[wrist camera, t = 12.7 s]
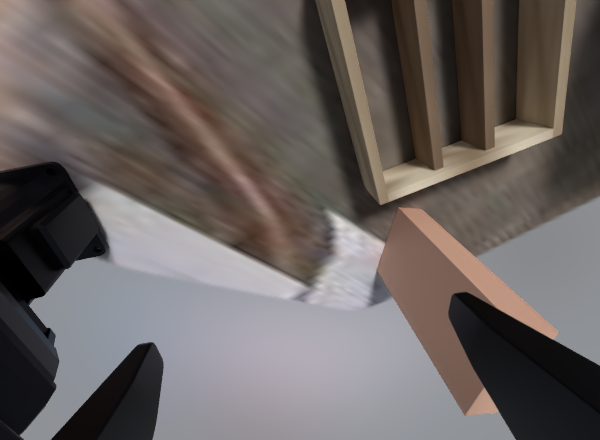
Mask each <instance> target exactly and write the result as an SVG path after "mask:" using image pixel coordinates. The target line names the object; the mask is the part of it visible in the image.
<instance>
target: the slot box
mask: <svg viewBox="0 0 600 440" xmlns="http://www.w3.org/2000/svg"><path fill="white" fill-rule="evenodd" d="M315 2H316V5H317V9H318V13H319V17H320V21H321V24H322V28H323V32H324V36H325V40H326V43H327V47H328V51H329V55H330V59H331V63H332V66H333V70H334V74H335V78H336V82H337V85H338V89H339V93H340V97H341V101H342V104H343V108H344V112H345V116H346V120H347V123H348V127H349V131H350V135H351V139H352V142H353V146H354V150H355V154H356V158H357V162H358V165H359V169H360V173H361V177H362V181H363V184H364V187H365V188H366V190H367V191H368V192H369V193H370V194H371V195H372V196H373V197H374V199H375V200H376V201H377V202H378V203H379V204H380V205H382V204H385V203H387V202H390V201H393V200H395V199H398V198H400V197H403V196H405V195H408V194H410V193H413V192H416V191H418V190H421V189H423V188H426V187H428V186H431V185H433V184H436V183H439V182H441V181H444V180H446V179H449V178H451V177H454V176H456V175H459V174H462V173H464V172H467V171H469V170H472V169H474V168H477V167H479V166H482V165H485V164H487V163H490V162H492V161H495V160H497V159H500V158H502V157H505V156H508V155H510V154H513V153H515V152H518V151H520V150H523V149H525V148H528V147H531V146H533V145H536V144H538V143H541V142H543V141H546V140H548V139H551V138H554V137H556V136H559V135H561V134H562V128H563V119H564V109H565V100H566V91H567V82H568V73H569V64H570V55H571V45H572V36H573V27H574V18H575V9H576V0H519V21H518V57H517V93H516V119H515V120H512V121H509V122H507V123H504V124H502V125H499V126H497V127H495V112H494V0H452V10H453V25H454V40H455V54H456V69H457V84H458V98H459V113H460V128H461V141H459V142H456V143H454V144H451V145H449V146H446V147H444V148H442V146H441V136H440V127H439V117H438V108H437V98H436V89H435V79H434V69H433V60H432V50H431V41H430V31H429V21H428V12H427V2H426V0H391V3H392V9H393V16H394V22H395V29H396V35H397V42H398V48H399V55H400V61H401V67H402V74H403V80H404V87H405V93H406V100H407V106H408V113H409V119H410V126H411V132H412V139H413V145H414V152H415V158H416V159H413V160H411V161H408V162H406V163H403V164H401V165H398V166H395V167H393V168H390V169H388V170H385V171H382V167H381V162H380V158H379V153H378V148H377V144H376V139H375V135H374V130H373V126H372V121H371V117H370V112H369V108H368V103H367V98H366V94H365V89H364V85H363V80H362V76H361V71H360V67H359V62H358V58H357V53H356V49H355V44H354V39H353V35H352V30H351V26H350V21H349V17H348V12H347V8H346V3H345V0H315Z"/></svg>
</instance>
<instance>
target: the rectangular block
mask: <svg viewBox="0 0 600 440" xmlns="http://www.w3.org/2000/svg"><path fill="white" fill-rule="evenodd" d="M377 271H378V273H379V275H380V276H381V278H382V280H383V281H384V283H385V285H386V286H387V288H388V290H389V291H390V293H391V295H392V296H393V298H394V300H395V301H396V303H397V304H398V306H399V308H400V309H401V311H402V313H403V314H404V316H405V318H406V319H407V321H408V323H409V324H410V326H411V327H412V329H413V331H414V332H415V334H416V336H417V338H418V339H419V341H420V342H421V344H422V346H423V347H424V349H425V351H426V352H427V354H428V356H429V357H430V359H431V361H432V362H433V364H434V366H435V367H436V369H437V370H438V372H439V374H440V375H441V377H442V379H443V380H444V382H445V383H446V385H447V387H448V389H449V390H450V392H451V394H452V395H453V397H454V399H455V400H456V402H457V403H458V405H459V407H460V409H461V410H462V412H463V413H464V415H465V416H466V415H477V414H489V413H497V412H498V409H497V407H496V406H495V404H494V402H493V401H492V399H491V397H490V396H489V394H488V393H487V391H486V389H485V388H484V386H483V384H482V383H481V381H480V379H479V378H478V376H477V374H476V373H475V371H474V369H473V367H472V365H471V364H470V362H469V360H468V358H467V355H466V353H465V351H464V349H463V347H462V345H461V343H460V341H459V339H458V337H457V334H456V332H455V330H454V328H453V326H452V324H451V322H450V320H449V316H448V310H449V305H450V301H451V296H452V295H453V294H454V293H458V292H468V293H470V294H472V295H474V296H476V297H478V298H479V299H481V300H483V301H485V302H487V303H488V304H490V305H492V306H494V307H495V308H497V309H499V310H501V311H503V312H504V313H506V314H508V315H510V316H512V317H513V318H515V319H517V320H519V321H521V322H522V323H524V324H526V325H528V326H530V327H531V328H533V329H535V330H537V331H538V332H540V333H542V334H544V335H546V336H547V337H549V338H551V339H553V340H554V338H555V337H556V336H557V334H558V333H559V332H558V331H557V330H556V329H555V328H554V327H552V326H551V325H550V324H549V323H548V322H547V321H546V320H545V319H543V318H542V317H541V316H540V315H539V314H538V313H537V312H536V311H535V310H534V309H532V308H531V307H530V306H529V305H528V304H527V303H526V302H525V301H523V300H522V299H521V298H520V297H519V296H518V295H517V294H516V293H514V292H513V291H512V290H511V289H510V288H509V287H508V286H507V285H506V284H505V283H503V282H502V281H501V280H500V279H499V278H498V277H497V276H496V275H494V274H493V273H492V272H491V271H490V270H489V269H488V268H487V267H486V266H484V265H483V264H482V263H481V262H480V261H479V260H478V259H477V258H476V257H474V256H473V255H472V254H471V253H470V252H469V251H468V250H467V249H466V248H464V247H463V246H462V245H461V244H460V243H459V242H458V241H457V240H456V239H454V238H453V237H452V236H451V235H450V234H449V233H448V232H447V231H445V230H444V229H443V228H442V227H441V226H440V225H439V224H438V223H437V222H435V221H434V220H433V219H432V218H431V217H430V216H429V215H428V214H427V213H425V212H424V211H423V210H422V209H415V208H402V207H398V209H397V212H396V215H395V218H394V221H393V224H392V227H391V230H390V233H389V236H388V239H387V242H386V245H385V247H384V250H383V253H382V256H381V259H380V262H379V265H378V268H377Z"/></svg>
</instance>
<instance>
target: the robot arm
mask: <svg viewBox="0 0 600 440" xmlns="http://www.w3.org/2000/svg"><path fill="white" fill-rule="evenodd" d="M50 168H52V169H54V170H55V171H56V173H57V174H54V173H52V172H51V171H50ZM96 246H98V247H100V248H101V249H97V248H96ZM107 249H108V246H107V243H106V242H105V240H104V238H103V236H102V235H101V233H100V231H99V226H98V224H97V222H96V221H95V219H94V217H93V215H92V214H91V212H90V210H89V208H88V206H87V205H86V203H85V201H84V199H83V198H82V196H81V195H80V194H78V192H77V191H76V189H75V187H74V185H73V184H72V182H71V180H70V178H69V177H68V175H67V173H66V171H65V170H64V168H63V167H62V165H60V164H59V163H56V162H46V163H41V164H36V165H30V166H25V167H20V168H14V169H9V170H4V171H0V440H24V439H22V438H21V437H20V435H21V434H22V433H23V432H24V431H25V430H26V429H27V427H28V426H29V425H30V424H31V423H32V421H33V420H34V419H35V418H36V417H37V416H38V414H39V413H40V412H41V411H42V410H43V409H44V407H45V406H46V404H47V402H48V401H49V399H50V398H51V396H52V394H53V393H54V391H55V390H56V384H55V383H54V382H53V381H54V379H55V376H56V372H57V368H58V364H59V358H58V354H57V351H56V348H55V347H54V341H55V334H54V333H53V331H52V330H51V329H50V328H46V327H45V325H44V324H43V323H42V322H41V320H40V319H39V318H38V317H37V316H36V314H35V313H34V312H33V310H32V309H31V308H30V307H29V305H30V303H31V302H32V301H33V300H34V299H35V298H38V297H42V296H44V295H45V294H46V292H48V290H49V289H50V288H51V287H52V285H53V284H54V283H55V282H56V280H57V279H58V278H59V277H60V275H61V274H62V273H63V272H64V270H65V269H68V268H70V267H71V265H72V264H73V263H74V262H75V261H77V260H81V259H86V258H91V257H96V256H101V255H103V254H104V253H105V252H106V251H107ZM448 316H449V320H450V322H451V324H452V326H453V328H454V330H455V332H456V334H457V337H458V339H459V341H460V343H461V345H462V347H463V349H464V351H465V353H466V355H467V358H468V360H469V362H470V364H471V365H472V367H473V369H474V371H475V373H476V374H477V376H478V378H479V379H480V381H481V383H482V384H483V386H484V388H485V389H486V391H487V393H488V394H489V396H490V397H491V399H492V401H493V402H494V404H495V406H496V407H497V409H498V411H499V412H500V414H501V416H502V417H503V419H504V420H505V422H506V424H507V425H508V427H509V429H510V431H511V432H512V434H513V435H514V437H515V439H516V440H600V366H599V365H597V364H596V363H594V362H592V361H590V360H589V359H587V358H585V357H583V356H581V355H580V354H578V353H576V352H574V351H573V350H571V349H569V348H567V347H565V346H563V345H562V344H560V343H558V342H556V341H554V340H553V339H551V338H549V337H547V336H546V335H544V334H542V333H540V332H538V331H537V330H535V329H533V328H531V327H530V326H528V325H526V324H524V323H522V322H521V321H519V320H517V319H515V318H513V317H512V316H510V315H508V314H506V313H504V312H503V311H501V310H499V309H497V308H495V307H494V306H492V305H490V304H488V303H487V302H485V301H483V300H481V299H479V298H478V297H476V296H474V295H472V294H470V293H468V292H458V293H454V294H453V295H452V296H451V301H450V305H449V310H448ZM162 375H163V359H162V357H161V355H160V353H159V351H158V349H157V347H156V345H155V344H154V343H153V342H149V343H143V344H139V345H137V346H136V347H135V348H134V349H133V350H132V351H131V353H130V354H129V355H128V356H127V357H126V358H125V359H124V360H123V361H122V362H121V364H120V365H119V366H118V367H117V368H116V369H115V370H114V371H113V372H112V373H111V374H110V376H109V377H108V378H107V379H106V380H105V381H104V382H103V383H102V384H101V385H100V387H99V388H98V389H97V390H96V391H95V392H94V393H93V394H92V395H91V396H90V398H89V399H88V400H87V401H86V402H85V403H84V404H83V405H82V406H81V407H80V408H79V410H78V411H77V412H76V413H75V414H74V415H73V416H72V417H71V418H70V419H69V421H68V422H67V423H66V424H65V425H64V426H63V427H62V428H61V429H60V431H59V432H58V433H57V434H56V435H55V436H54V437H53V438H52V440H152V439H153V435H154V430H155V426H156V420H157V414H158V406H159V398H160V390H161V383H162Z"/></svg>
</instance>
